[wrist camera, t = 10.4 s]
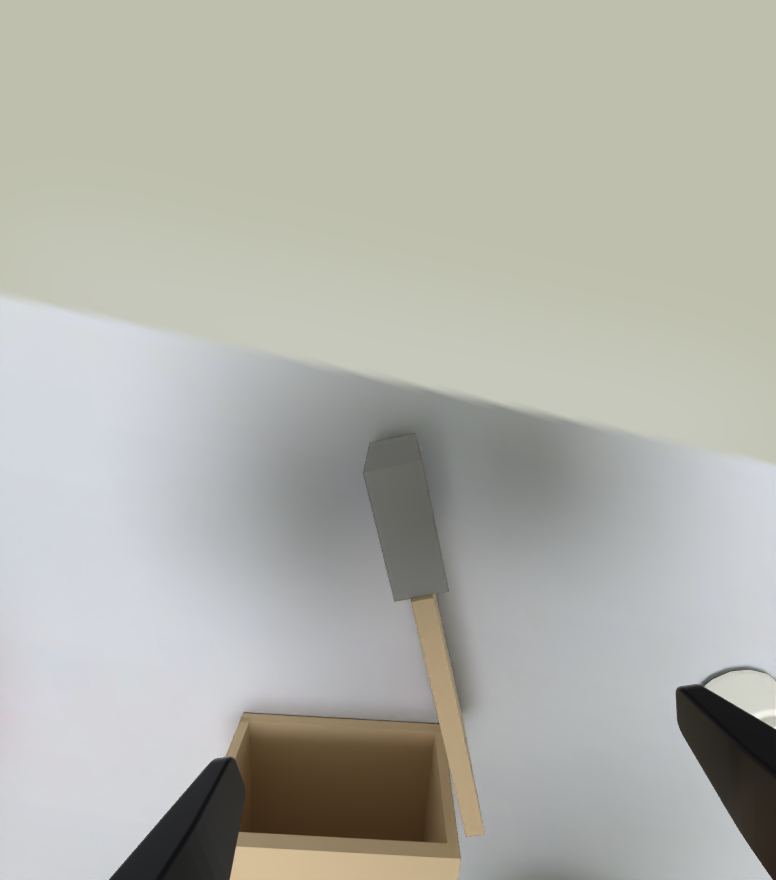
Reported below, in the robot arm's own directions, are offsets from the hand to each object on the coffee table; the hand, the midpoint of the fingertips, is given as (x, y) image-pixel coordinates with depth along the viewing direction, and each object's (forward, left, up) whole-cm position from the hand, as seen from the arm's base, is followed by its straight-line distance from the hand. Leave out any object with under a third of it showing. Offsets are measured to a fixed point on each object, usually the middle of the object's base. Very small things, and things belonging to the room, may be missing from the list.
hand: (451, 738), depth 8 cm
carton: (+3, +18, -12) cm, 22 cm away
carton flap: (-1, +4, -11) cm, 12 cm away
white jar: (-18, +10, -12) cm, 24 cm away
